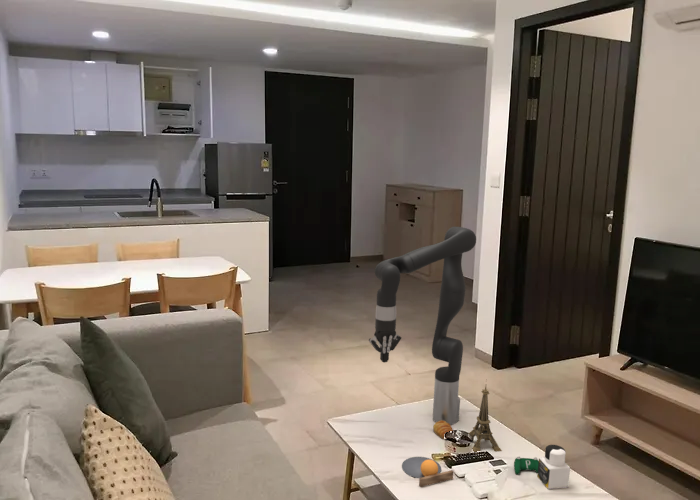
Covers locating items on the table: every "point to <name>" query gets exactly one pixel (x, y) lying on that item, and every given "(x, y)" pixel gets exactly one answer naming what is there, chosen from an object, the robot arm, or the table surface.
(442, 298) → the robot arm
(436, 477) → the strip
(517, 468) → the gaming controller
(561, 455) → the medicine bottle
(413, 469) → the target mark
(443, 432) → the pastry
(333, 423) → the table surface
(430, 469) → the ball
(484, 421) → the eiffel tower
